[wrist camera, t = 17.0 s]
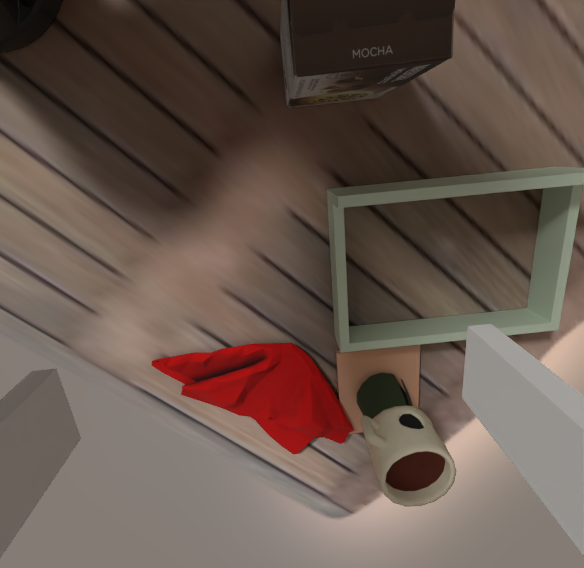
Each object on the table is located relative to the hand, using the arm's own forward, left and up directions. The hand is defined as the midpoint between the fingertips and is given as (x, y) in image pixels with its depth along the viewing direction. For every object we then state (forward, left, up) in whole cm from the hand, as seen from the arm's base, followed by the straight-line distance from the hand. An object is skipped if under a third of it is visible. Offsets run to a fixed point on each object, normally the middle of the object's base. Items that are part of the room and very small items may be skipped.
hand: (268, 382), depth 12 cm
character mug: (+11, -22, -28) cm, 37 cm away
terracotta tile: (+11, -22, -29) cm, 38 cm away
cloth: (-3, -20, -28) cm, 35 cm away
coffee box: (+7, +14, -29) cm, 33 cm away
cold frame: (+18, -6, -29) cm, 34 cm away
